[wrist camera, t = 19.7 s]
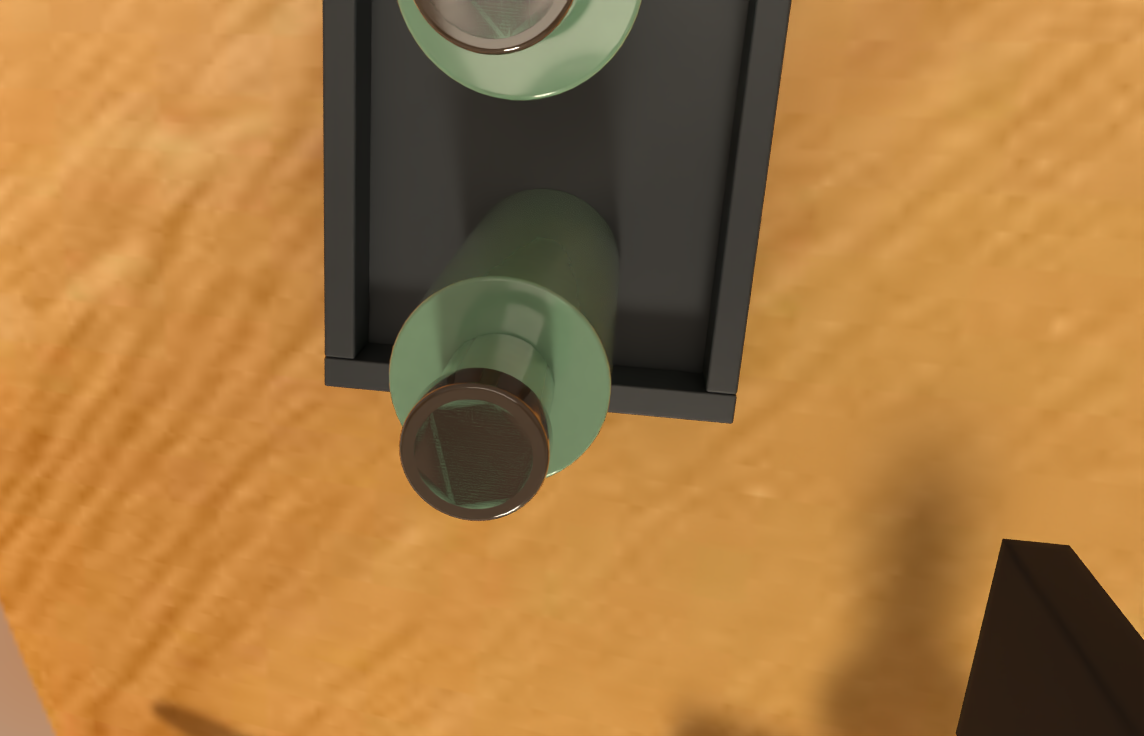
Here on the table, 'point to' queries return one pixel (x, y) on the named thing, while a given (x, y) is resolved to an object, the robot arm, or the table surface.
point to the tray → (559, 186)
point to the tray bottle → (520, 41)
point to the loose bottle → (508, 356)
